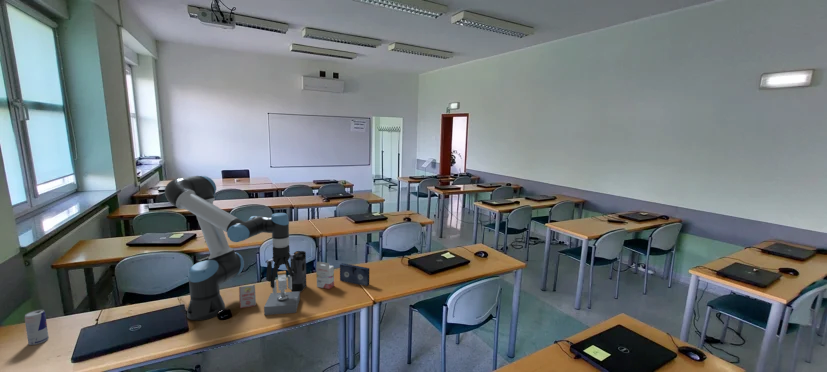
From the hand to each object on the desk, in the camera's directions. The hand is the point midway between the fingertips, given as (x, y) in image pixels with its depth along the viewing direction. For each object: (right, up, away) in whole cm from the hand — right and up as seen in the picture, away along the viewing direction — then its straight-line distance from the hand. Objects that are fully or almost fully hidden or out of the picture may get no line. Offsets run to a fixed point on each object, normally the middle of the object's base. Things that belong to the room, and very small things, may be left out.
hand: (282, 290), depth 161 cm
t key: (0, -4, +1) cm, 4 cm away
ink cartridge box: (+15, -5, +24) cm, 29 cm away
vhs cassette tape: (+30, -5, +30) cm, 43 cm away
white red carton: (-18, -8, +2) cm, 19 cm away
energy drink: (-85, -11, -30) cm, 90 cm away
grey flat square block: (0, -8, +1) cm, 8 cm away
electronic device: (+1, -6, +21) cm, 21 cm away
